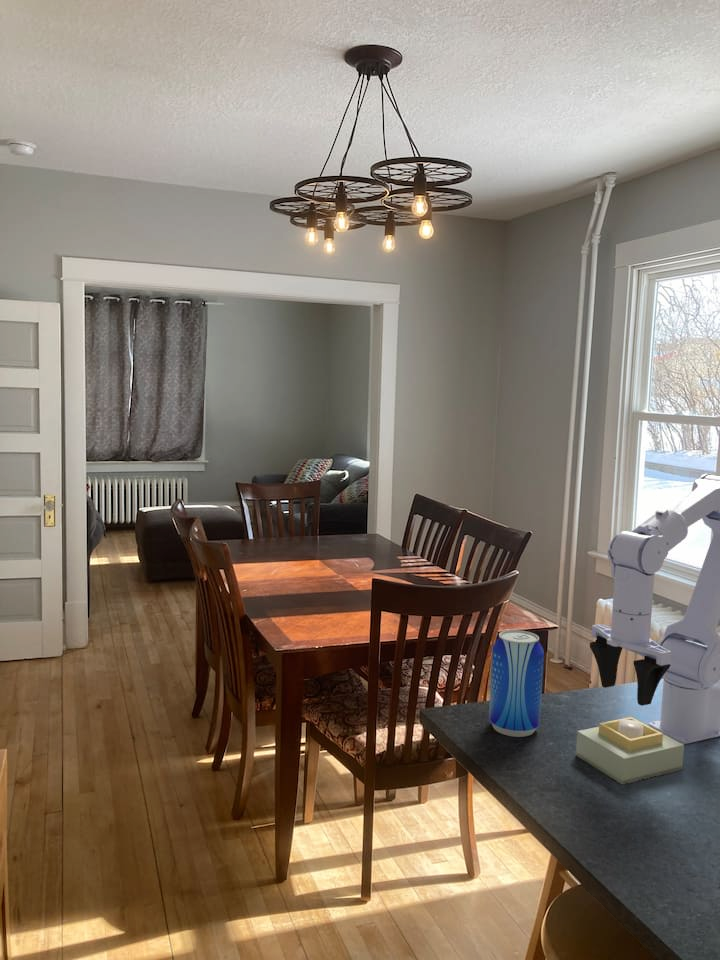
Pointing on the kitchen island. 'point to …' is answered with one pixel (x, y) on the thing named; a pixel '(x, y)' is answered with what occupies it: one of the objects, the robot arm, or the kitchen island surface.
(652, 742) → the square stacking base
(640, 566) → the robot arm
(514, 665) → the beer can
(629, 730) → the pellet
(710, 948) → the kitchen island surface
